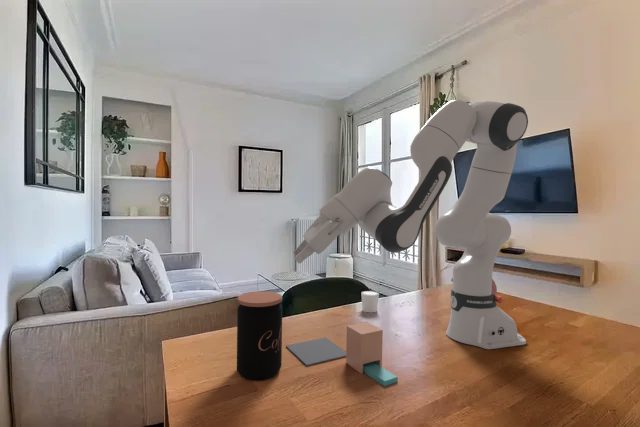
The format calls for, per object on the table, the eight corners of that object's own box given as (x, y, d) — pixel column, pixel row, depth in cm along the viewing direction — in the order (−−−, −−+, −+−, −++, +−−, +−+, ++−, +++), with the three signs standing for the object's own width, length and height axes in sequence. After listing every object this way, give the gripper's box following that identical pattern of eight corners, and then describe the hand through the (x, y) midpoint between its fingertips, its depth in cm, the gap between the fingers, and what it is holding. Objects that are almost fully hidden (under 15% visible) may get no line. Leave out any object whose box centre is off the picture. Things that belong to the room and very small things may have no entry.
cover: (366, 357, 87) (366, 322, 87) (381, 368, 82) (382, 330, 82) (346, 362, 84) (346, 325, 84) (360, 373, 79) (361, 334, 79)
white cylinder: (378, 314, 124) (378, 295, 124) (360, 312, 126) (360, 294, 125) (378, 308, 131) (379, 291, 131) (361, 307, 132) (361, 290, 132)
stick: (364, 362, 86) (364, 356, 86) (397, 383, 76) (397, 376, 76) (352, 366, 84) (352, 359, 84) (384, 388, 73) (384, 381, 73)
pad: (325, 338, 100) (325, 337, 100) (349, 355, 88) (349, 354, 88) (286, 346, 93) (286, 345, 93) (306, 366, 82) (306, 364, 82)
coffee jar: (260, 387, 72) (261, 305, 72) (226, 373, 78) (227, 298, 77) (290, 368, 81) (291, 295, 81) (257, 357, 87) (258, 289, 87)
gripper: (354, 230, 71) (308, 276, 70) (338, 225, 91) (302, 260, 90) (334, 209, 70) (287, 255, 69) (322, 208, 90) (286, 244, 90)
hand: (295, 257), depth 80 cm, fingers open, 8 cm apart
